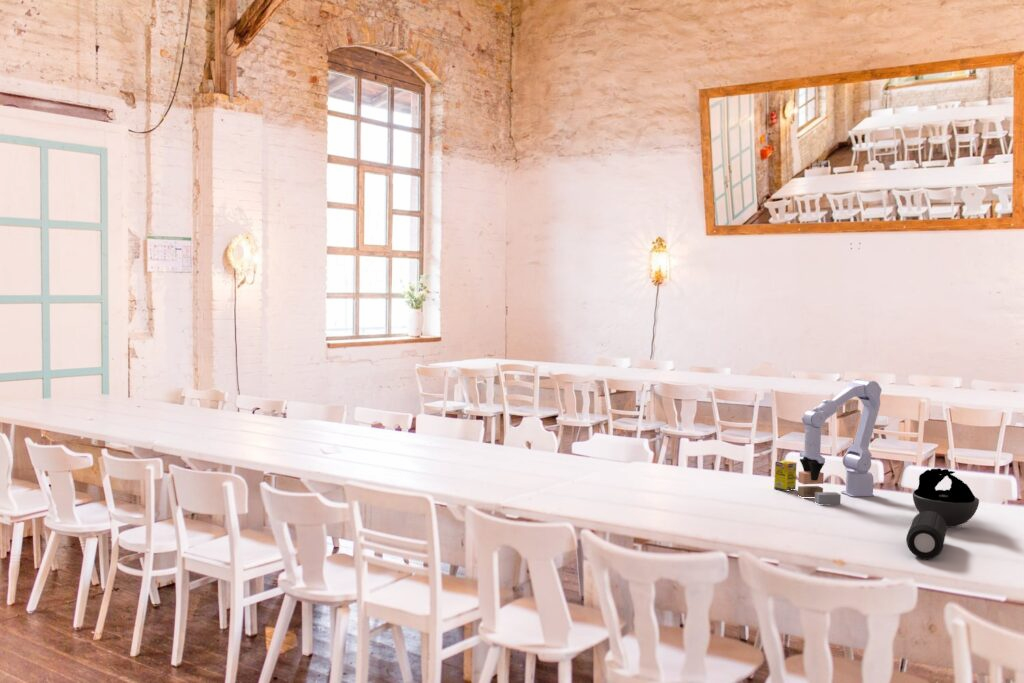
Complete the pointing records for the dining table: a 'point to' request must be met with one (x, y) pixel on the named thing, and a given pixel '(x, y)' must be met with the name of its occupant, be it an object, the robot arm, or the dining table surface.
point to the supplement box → (785, 475)
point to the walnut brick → (808, 490)
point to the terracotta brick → (809, 478)
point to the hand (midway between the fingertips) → (811, 478)
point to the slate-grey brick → (827, 498)
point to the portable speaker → (927, 534)
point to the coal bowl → (945, 497)
